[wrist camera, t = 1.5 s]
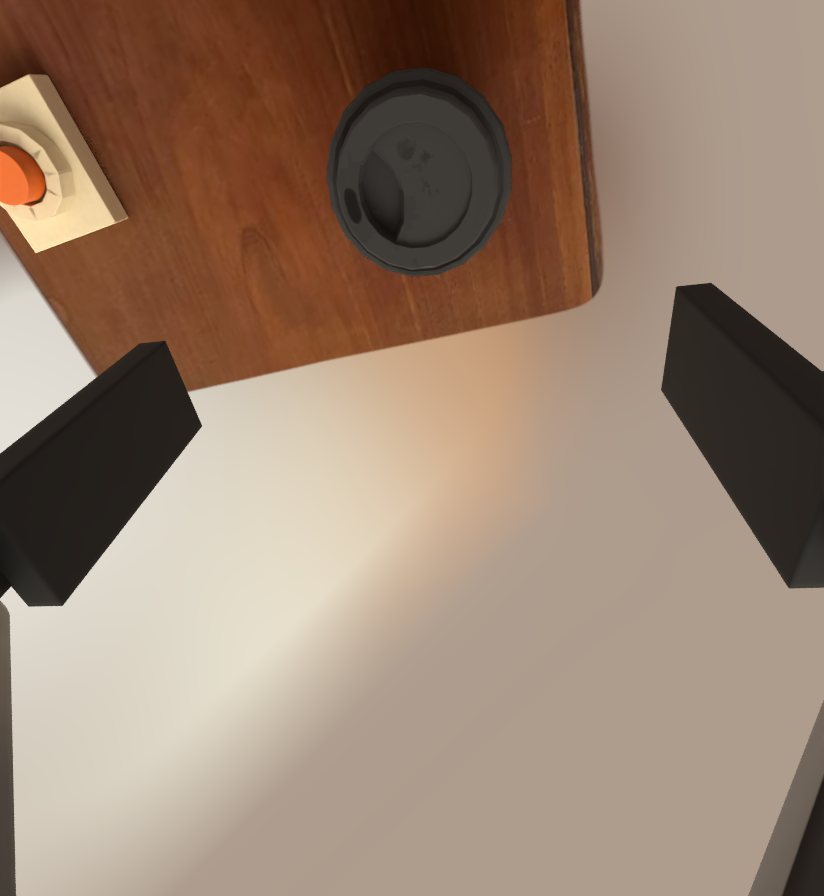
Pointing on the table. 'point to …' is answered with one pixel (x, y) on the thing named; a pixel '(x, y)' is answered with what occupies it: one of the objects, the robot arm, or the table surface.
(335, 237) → the table surface
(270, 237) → the table surface
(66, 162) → the button box
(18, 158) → the button
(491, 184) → the coffee cup
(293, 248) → the table surface
